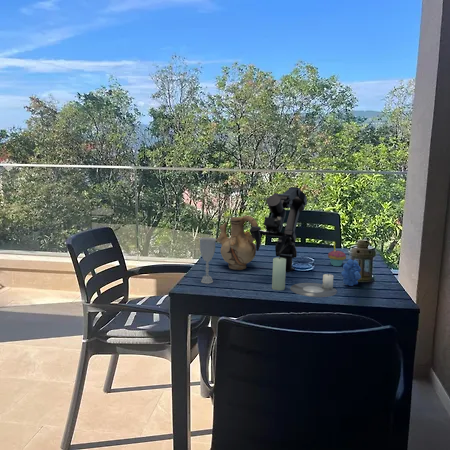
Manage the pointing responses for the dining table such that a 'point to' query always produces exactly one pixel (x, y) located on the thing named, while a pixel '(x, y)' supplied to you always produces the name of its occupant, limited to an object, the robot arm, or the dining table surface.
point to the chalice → (207, 255)
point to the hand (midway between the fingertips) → (267, 251)
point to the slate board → (312, 290)
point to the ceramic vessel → (237, 243)
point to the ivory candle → (327, 281)
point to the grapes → (351, 272)
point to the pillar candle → (278, 273)
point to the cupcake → (336, 257)
